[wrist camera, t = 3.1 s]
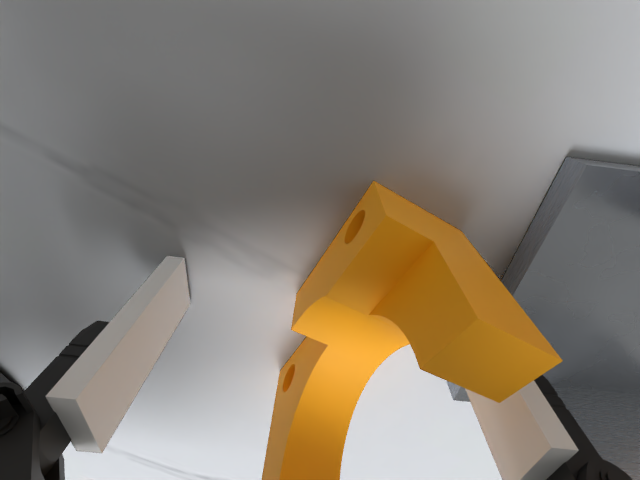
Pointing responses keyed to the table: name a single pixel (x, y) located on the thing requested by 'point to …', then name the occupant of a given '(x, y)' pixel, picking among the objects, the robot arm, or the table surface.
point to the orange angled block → (393, 328)
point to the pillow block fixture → (588, 300)
